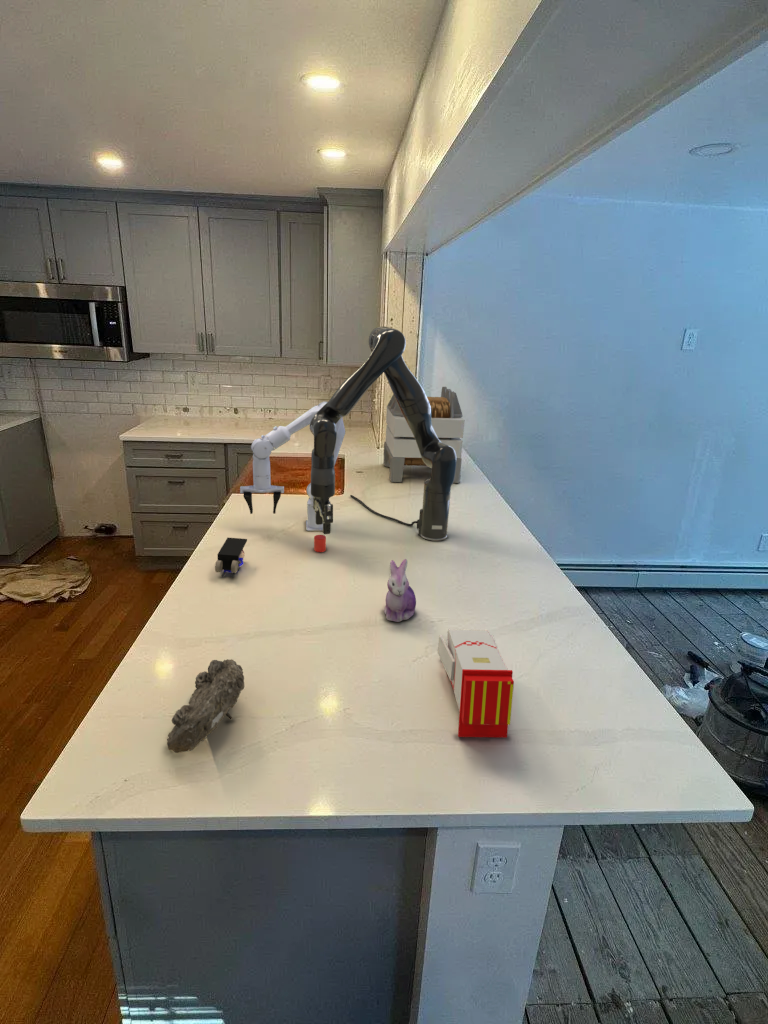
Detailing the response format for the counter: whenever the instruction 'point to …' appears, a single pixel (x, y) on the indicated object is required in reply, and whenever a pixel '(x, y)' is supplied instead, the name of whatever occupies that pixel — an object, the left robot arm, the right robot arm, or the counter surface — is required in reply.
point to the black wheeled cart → (230, 556)
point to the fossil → (206, 705)
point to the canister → (320, 543)
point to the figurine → (399, 594)
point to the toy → (478, 682)
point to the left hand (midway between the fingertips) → (263, 512)
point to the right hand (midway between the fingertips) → (322, 528)
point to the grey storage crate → (403, 443)
